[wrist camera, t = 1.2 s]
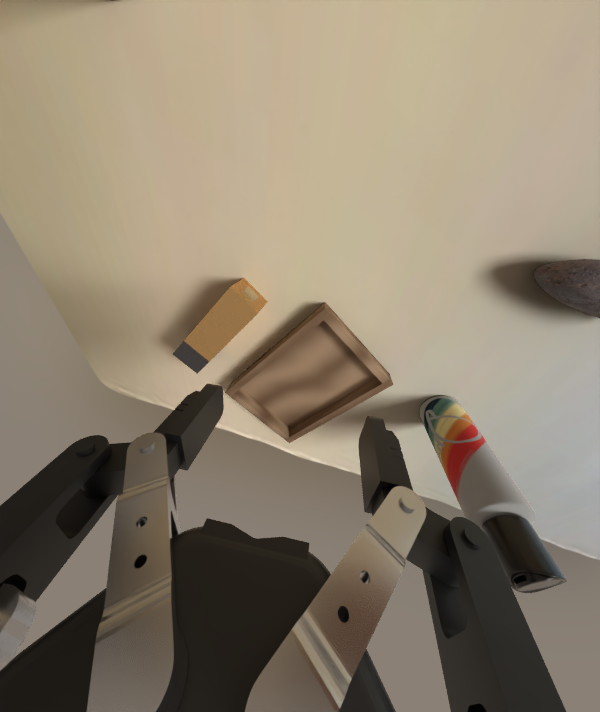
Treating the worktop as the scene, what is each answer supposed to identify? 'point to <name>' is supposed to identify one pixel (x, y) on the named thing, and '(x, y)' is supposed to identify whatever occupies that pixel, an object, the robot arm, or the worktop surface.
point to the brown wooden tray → (310, 377)
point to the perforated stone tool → (573, 283)
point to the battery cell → (220, 325)
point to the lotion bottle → (489, 496)
